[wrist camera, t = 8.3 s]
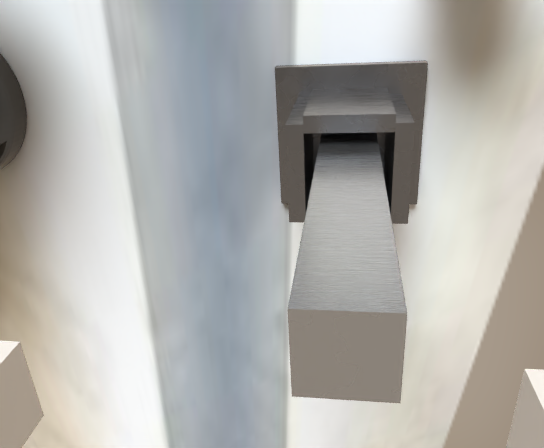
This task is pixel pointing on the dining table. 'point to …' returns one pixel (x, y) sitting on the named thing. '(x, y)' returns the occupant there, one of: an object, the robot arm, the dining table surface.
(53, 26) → the dining table surface
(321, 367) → the column
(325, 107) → the stand
